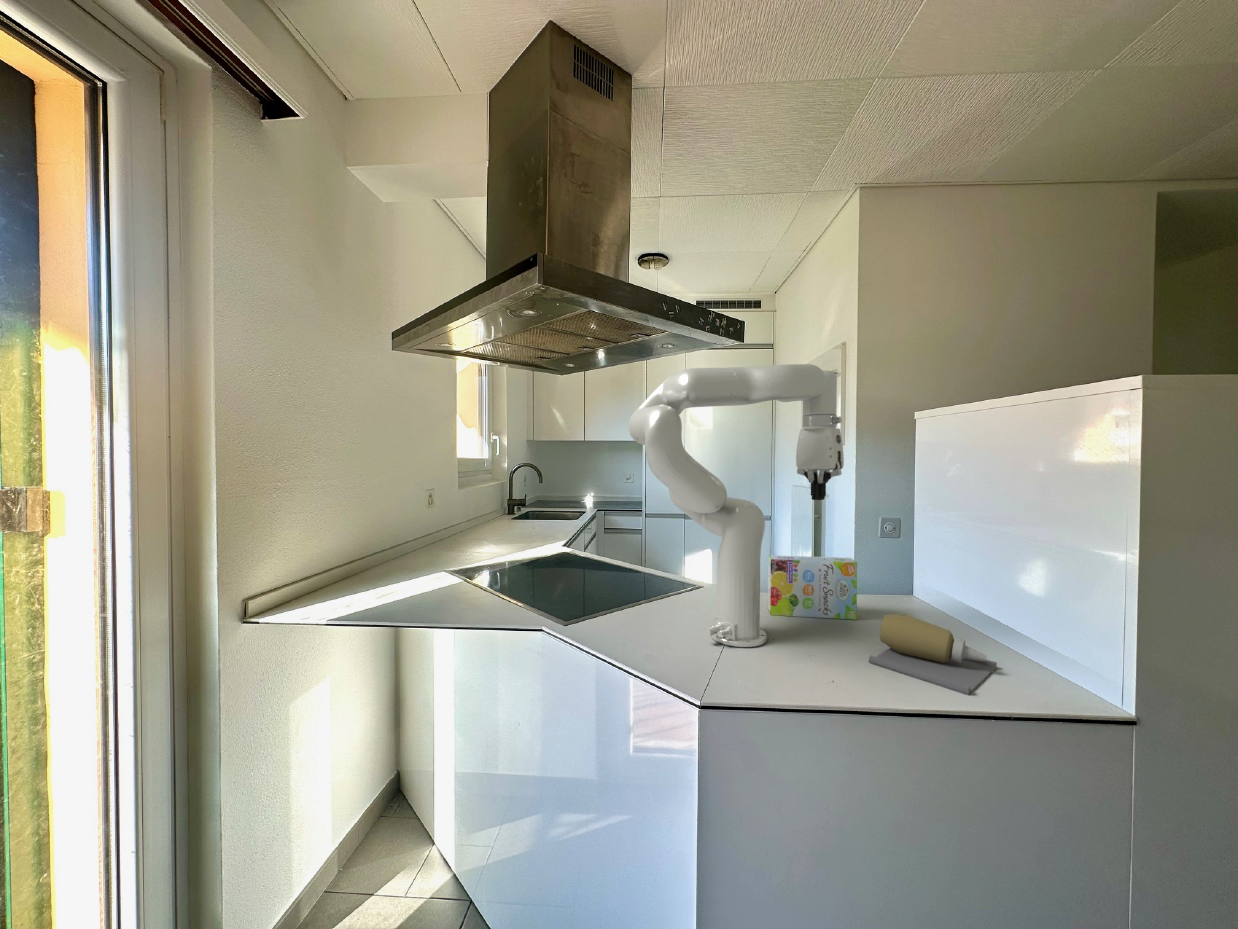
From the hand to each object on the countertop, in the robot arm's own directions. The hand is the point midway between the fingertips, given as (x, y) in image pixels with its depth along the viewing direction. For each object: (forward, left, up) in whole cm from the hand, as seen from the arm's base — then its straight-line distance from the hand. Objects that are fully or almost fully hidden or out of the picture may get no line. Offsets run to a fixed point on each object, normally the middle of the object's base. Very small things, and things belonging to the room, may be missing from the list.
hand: (818, 499), depth 118 cm
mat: (-2, -25, -31) cm, 40 cm away
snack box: (+8, +6, -31) cm, 33 cm away
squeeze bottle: (-1, -16, -26) cm, 31 cm away
